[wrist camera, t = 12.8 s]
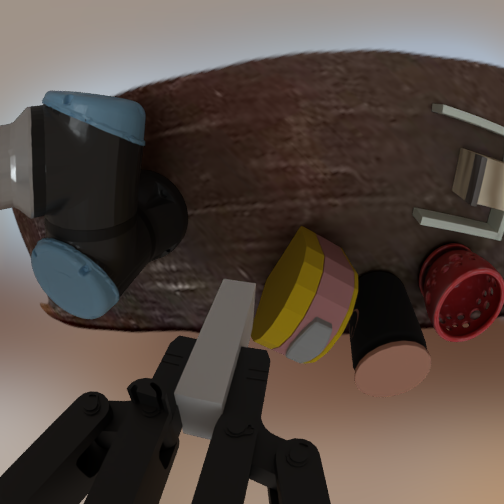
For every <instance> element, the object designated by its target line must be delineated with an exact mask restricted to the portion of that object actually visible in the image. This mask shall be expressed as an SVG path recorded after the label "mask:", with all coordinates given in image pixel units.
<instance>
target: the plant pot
mask: <svg viewBox="0 0 504 504" xmlns="http://www.w3.org/2000/svg"><path fill="white" fill-rule="evenodd" d="M489 277H490V279H489ZM495 281H496V283H495ZM419 287H420V291H421V293H422V295H423V296H424V301H425V305H426V310H427V313H428V316H429V318H430V321H431V323H432V325H433V327H434V329H435V330H436V332H437V333H438V334H439V336H440V337H441V338H443V339H445V340H447V341H451V342H461V341H466V340H469V339H472V338H474V337H476V336H478V335H479V334H481V333H482V332H484V331H485V330H486V329H487V328H488V327H489V326H490V325H491V324H492V323H493V322H494V320H495V319H496V318H497V316H498V314H499V313H500V311H501V309H502V306H503V303H504V280H503V278H502V276H501V275H500V274H499V272H498V271H497V270H496V269H495V268H494V267H493V266H492V265H491V264H490V263H489V262H488V261H486V260H485V259H484V258H482V257H480V256H478V255H477V254H475V253H473V252H472V251H471V250H470V249H469V248H468V247H466V246H464V245H462V244H457V243H450V244H446V245H443V246H441V247H439V248H437V249H436V250H434V251H433V252H432V253H431V254H430V255H429V256H428V257H427V259H426V260H425V262H424V263H423V265H422V267H421V270H420V274H419ZM491 287H492V288H493V295H492V294H491ZM485 291H486V292H487V295H486V296H484V292H485ZM479 299H481V303H480V304H479V305H478V300H479ZM487 302H489V303H490V305H489V307H488V309H486V304H487ZM475 310H479V311H480V312H481V315H480V317H479V318H478V319H476V320H472V319H471V318H470V315H471V313H472V312H473V311H475ZM459 315H463V316H464V319H462V320H459V319H458V318H457V317H458V316H459ZM439 317H440V318H441V319H442V320H443V322H444V324H443V323H440V321H439ZM446 317H450V318H451V319H447V318H446ZM464 323H468V324H469V327H467V328H464V327H463V326H462V325H463V324H464ZM452 325H457V327H453V326H452ZM446 328H448V329H449V330H450V331H449V330H447V329H446Z"/></svg>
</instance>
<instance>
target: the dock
mask: <svg viewBox="0 0 504 504" xmlns="http://www.w3.org/2000/svg"><path fill="white" fill-rule="evenodd" d="M432 112H435V113H439V114H442V115H445V116H449V117H452V118H455V119H458V120H461V121H464V122H467V123H469V124H472V125H475V126H478V127H480V128H483V129H486V130H488V131H491V132H493V133H496V134H498V135H501V136H503V137H504V127H502V126H500V125H498V124H495V123H493V122H490V121H488V120H485V119H483V118H480V117H478V116H475V115H472V114H470V113H467V112H464V111H461V110H458V109H455V108H452V107H449V106H446V105H442V104H432ZM503 162H504V156H503ZM412 215H413V216H414V217H415V218H416V220H417V221H418V222H419V223H420V225H425V226H431V227H436V228H441V229H447V230H452V231H457V232H462V233H467V234H472V235H476V236H481V237H486V238H490V239H495V240H500V241H501V238H502V235H503V232H504V211H502V210H499V209H495V208H491V211H490V215H489V218H488V221H487V223H485V222H481V221H477V220H472V219H468V218H463V217H459V216H454V215H450V214H445V213H440V212H435V211H431V210H426V209H420V208H415V207H414V210H413V214H412Z"/></svg>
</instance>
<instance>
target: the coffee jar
mask: <svg viewBox="0 0 504 504" xmlns="http://www.w3.org/2000/svg"><path fill="white" fill-rule="evenodd" d="M348 325H349V333H350V342H351V351H352V360H353V368H354V370H355V383H356V386H357V388H358V389H359V390H360V391H362V392H363V393H364V394H367V395H370V396H373V397H374V396H375V397H389V396H395V395H398V394H402V393H404V392H407V391H409V390H410V389H412V388H414V387H416V386H417V385H418V384H419V383H420V382H422V381H423V380H424V378H425V377H426V376H427V374H428V373H429V370H430V367H431V357H430V354H429V352H428V351H427V348H426V342H425V339H424V336H423V333H422V330H421V328H420V325H419V322H418V320H417V317H416V315H415V312H414V309H413V307H412V304H411V302H410V299H409V297H408V295H407V292H406V290H405V287H404V285H403V284H402V282H401V281H400V280H399V278H397V277H395V276H394V275H392V274H390V273H385V272H372V273H369V274H366V275H364V276H362V277H361V278H359V279H358V294H357V298H356V302H355V305H354V309H353V313H352V315H351V317H350V319H349V321H348Z"/></svg>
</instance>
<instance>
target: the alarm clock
mask: <svg viewBox="0 0 504 504" xmlns="http://www.w3.org/2000/svg"><path fill="white" fill-rule="evenodd" d="M357 294H358V274H357V272H356V271H355V269H354V268H353V266H352V265H351V263H350V261H349V260H348V258H347V256H346V254H345V253H344V251H343V249H342V248H340V247H339V246H337V245H335V244H334V243H332V242H330V241H328V240H326V239H325V238H323V237H321V236H319V235H317V234H315V233H314V232H312V231H310V230H308V229H307V228H305V227H303V226H300V228H299V229H298V231H297V233H296V234H295V236H294V237H293V239H292V241H291V242H290V244H289V245H288V247H287V248H286V250H285V252H284V253H283V255H282V256H281V258H280V259H279V261H278V263H277V264H276V266H275V267H274V269H273V270H272V272H271V273H270V275H269V277H268V278H267V280H266V283H265V286H264V289H263V293H262V296H261V299H260V302H259V306H258V309H257V312H256V315H255V318H254V322H253V327H252V332H251V337H252V339H253V341H254V342H257V343H259V344H261V345H263V346H265V347H267V348H270V349H272V350H274V351H276V352H279V353H281V354H283V355H285V356H286V357H287V358H289V359H292V360H294V361H296V362H299V363H312V362H316V361H317V360H318V359H319V358H321V357H322V356H324V355H325V354H326V353H327V352H328V351H329V350H330V349H331V348H332V346H333V345H334V344H335V342H336V341H337V340H338V338H339V337H340V336H341V335H342V333H343V331H344V329H345V327H346V325H347V323H348V321H349V319H350V317H351V315H352V313H353V309H354V305H355V302H356V298H357Z"/></svg>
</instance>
